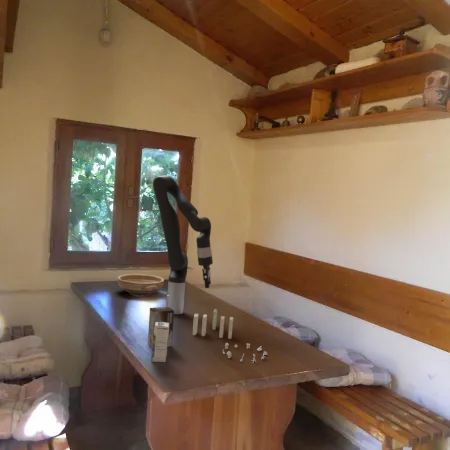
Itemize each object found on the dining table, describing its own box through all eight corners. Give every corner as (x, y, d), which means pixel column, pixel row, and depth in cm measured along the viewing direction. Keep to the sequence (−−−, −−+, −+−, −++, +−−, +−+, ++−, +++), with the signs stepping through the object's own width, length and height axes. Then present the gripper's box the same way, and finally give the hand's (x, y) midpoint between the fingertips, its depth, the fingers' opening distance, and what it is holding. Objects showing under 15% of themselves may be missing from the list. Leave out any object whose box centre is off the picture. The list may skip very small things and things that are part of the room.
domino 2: (201, 335, 227) (202, 317, 226) (202, 332, 231) (203, 314, 231) (204, 336, 226) (206, 317, 226) (205, 333, 231) (207, 314, 231)
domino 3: (212, 329, 238) (213, 311, 238) (212, 326, 243) (214, 309, 243) (215, 329, 238) (216, 311, 238) (216, 326, 243) (217, 309, 242)
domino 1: (192, 335, 227) (193, 316, 226) (193, 331, 232) (195, 313, 231) (195, 335, 227) (197, 316, 226) (197, 332, 232) (198, 313, 231)
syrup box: (152, 356, 194) (154, 321, 193) (166, 357, 195) (169, 322, 194) (151, 361, 189) (153, 325, 188) (166, 362, 189) (169, 326, 188)
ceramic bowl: (174, 299, 292) (175, 283, 291) (130, 302, 276) (131, 285, 276) (148, 286, 323) (149, 271, 322) (107, 288, 307) (108, 273, 306)
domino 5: (227, 338, 226) (229, 319, 225) (228, 335, 231) (229, 316, 230) (231, 338, 226) (233, 320, 225) (231, 335, 231) (233, 317, 230)
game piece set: (233, 365, 193) (234, 356, 193) (214, 348, 211) (215, 340, 211) (275, 362, 201) (276, 353, 201) (254, 346, 219) (254, 337, 219)
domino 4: (219, 337, 226) (220, 318, 225) (219, 334, 231) (221, 316, 230) (222, 337, 226) (224, 319, 225) (223, 334, 231) (224, 316, 230)
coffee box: (166, 342, 214) (169, 306, 212) (172, 346, 208) (174, 310, 207) (147, 343, 209) (149, 307, 208) (151, 348, 204) (154, 311, 203)
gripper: (199, 254, 258) (202, 283, 260) (196, 258, 244) (199, 289, 246) (212, 253, 258) (216, 282, 259) (210, 257, 244) (214, 288, 245)
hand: (208, 286), depth 253 cm, fingers open, 8 cm apart
